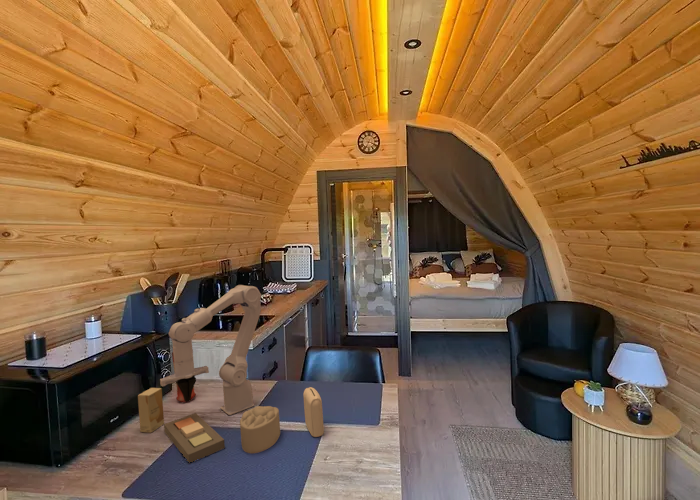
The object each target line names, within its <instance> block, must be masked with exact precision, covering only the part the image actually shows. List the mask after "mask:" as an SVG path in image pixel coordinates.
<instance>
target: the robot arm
mask: <svg viewBox="0 0 700 500" xmlns="http://www.w3.org/2000/svg"><path fill="white" fill-rule="evenodd" d="M261 298H262V294H261V292H260V290H259V289H258V287H257V286H253V285H244V284H238V285H236V286H235V287H234V288H231V289H229V291H228V292H226V293H225V294H224V295H223V296H220V298H219V299H217V300H216V301H214V302H213V303H212V304H210V305H209V306H208V307H207V308H206V307H200V308H195V309H194V310H193V311H194V312H192V313H191V314H190V315H188V316H187V317H183V318H182V319H181V321H179V322H176V323H173V324H172V325H171V326H170V329H169V332H168V336H169V338H171V339H172V340H171V341H172V352H173V355H174V366H175V372H174V373H173V374H170V375H168V376H165V377H163V378H160V379H159V382H160V386H161V387H166V386H167V385H169V384H173V383H175V384H176V383H177V385H178V386H179V388H180V390H181V392H182V394H183V397H184V400H185V401H186V402H185V403H189V402H190V401H192V400H191V394H192V390H193V387H194V388H195V384H196V382H197V378H196V376H199V375H202V374H208V373H209V372H210V371H209V370H210V369H209V366H208V365H204V366H198V367H195V361H194V349H193V343H192V339H193V338H194V337H195V336H194V335H195V334H196V333H197V332H198V331H200V330H201V329H203V328H204V327H205V326H207V325H209V324H210V323H211V322H212V319H213V316H215V315H217V314H219V313H220V312H221V311H223V310H224V309H226V308H228V307H229V306H231V305H232V304H238V305H240V306H241V308H242V310H243V311H244V315H243V316H242V320H241V323H240V326H239V329H238V332H237V334H236V338H235V341H234V344H233V346H232V349H231V353H230V355H228V356H227V357H226V358H225V360H224V362H223V364H222V365H221V366H220V368H219V370H218V375H219V378H220V379H221V380H222V390H223V402H224V403H223V404H224V405H223V406H220V409H221V410H222V411H223V412H224V413H226V414H227V415H229V416H231V415H234V414H237V413H240V412H242V411H244V410H249V409H250V408H252V407H253V408H254V407H255V404H254V396H253V387H252V386H253V385H252V382H251V381H250V380H249V379H247V375H248V374H247V373H248V372H247V370H248V366H249V365H248V361H247V360H246V359H247V355H248V352H249V350H250V346H251V343H252V340H253V336H254V334H255V331H256V328H257V325H258V322H259V318H260V316H261V312H262V307H261ZM192 349H193V350H192ZM174 366H173V367H174Z"/></svg>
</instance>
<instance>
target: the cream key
mask: <svg viewBox="0 0 700 500" xmlns="http://www.w3.org/2000/svg"><path fill="white" fill-rule="evenodd" d="M202 432H204V428H203V426H201V425H200V424H199V423H198V422H196V423H193V424H191V425H188V426H185V427H182V428H181V434H182V435H183V436H184V437H185V438H186V439H187V438H189V437H192V436H194V435H197V434H199V433H202Z"/></svg>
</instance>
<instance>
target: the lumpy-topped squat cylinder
mask: <svg viewBox="0 0 700 500" xmlns="http://www.w3.org/2000/svg"><path fill="white" fill-rule="evenodd" d="M280 421H281V420H280V410H279V408H278V407H276V406H271V405H266V406H265V405H264V406H260V405H256V406H254V407H253V408H252V407H251V409H250V408H249V409H248V410H246V411H244V412H243V414H242V416H241V418H240V420H239V427H240V428H239V429H240V441H241V448H242V451H244V452H245V453H246V454H258V453H261V452H264V451H266V450H268V449H270V448H271V447H273V445H275V444H276V443H277V441H278V439H279V438H280V435H281V424H280Z"/></svg>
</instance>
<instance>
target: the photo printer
mask: <svg viewBox="0 0 700 500" xmlns="http://www.w3.org/2000/svg"><path fill="white" fill-rule="evenodd" d="M302 397H303V407H304V421H305V425H306V429H307V430H308V431H309V433H310V435H311V436H312V437H314V438H317V437H321V436H323V435H324V433H325V426H324V415H323V414H324V412H323V402H322V398H321V396H320V393H319V392H318V391H317V390H316V388H314V387H312V386H309V387H306V388H305V389H304V390H303V395H302Z"/></svg>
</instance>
